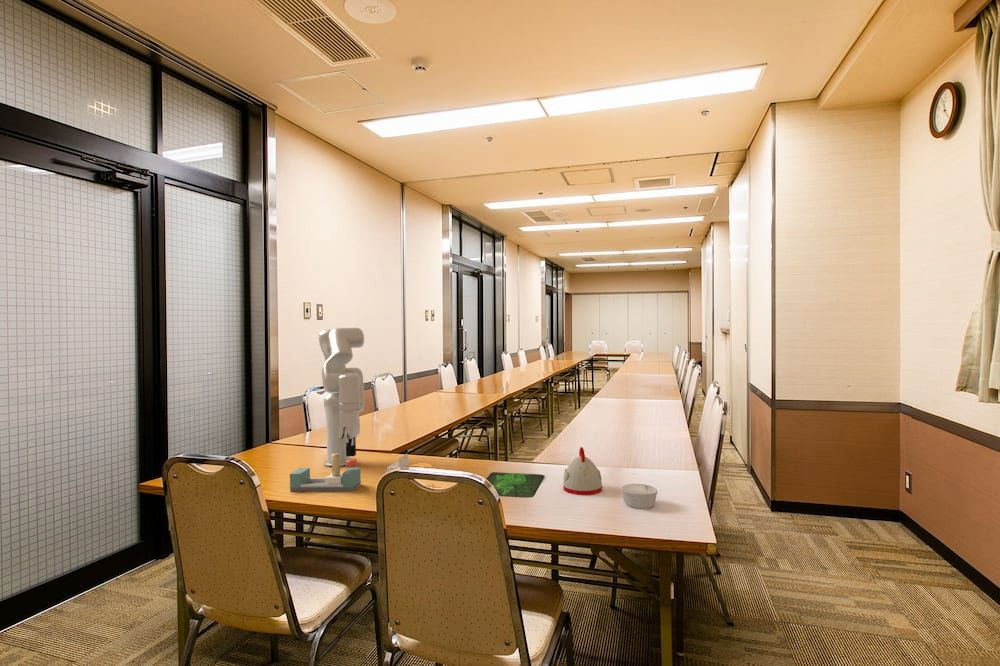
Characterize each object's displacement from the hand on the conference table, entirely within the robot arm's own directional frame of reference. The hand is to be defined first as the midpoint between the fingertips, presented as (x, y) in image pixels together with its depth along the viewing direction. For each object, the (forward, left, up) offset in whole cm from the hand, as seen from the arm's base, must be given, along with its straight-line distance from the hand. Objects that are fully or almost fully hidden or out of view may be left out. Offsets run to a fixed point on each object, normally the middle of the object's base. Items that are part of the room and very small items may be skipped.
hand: (351, 455), depth 191 cm
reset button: (0, 0, -4) cm, 4 cm away
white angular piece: (+11, +21, -12) cm, 27 cm away
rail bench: (0, -10, -12) cm, 16 cm away
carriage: (0, -6, -10) cm, 12 cm away
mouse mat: (-4, +60, -13) cm, 61 cm away
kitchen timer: (+2, +86, -12) cm, 87 cm away
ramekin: (+18, +103, -13) cm, 105 cm away
